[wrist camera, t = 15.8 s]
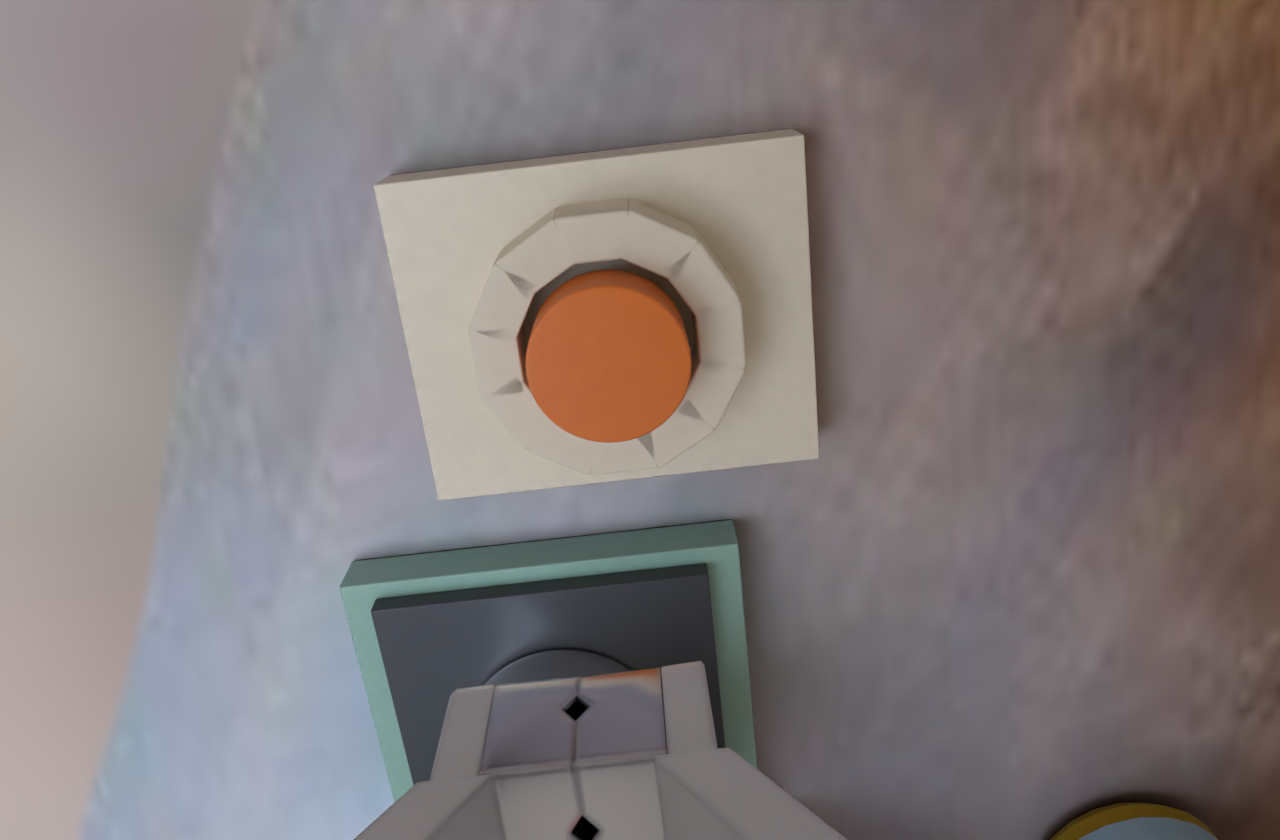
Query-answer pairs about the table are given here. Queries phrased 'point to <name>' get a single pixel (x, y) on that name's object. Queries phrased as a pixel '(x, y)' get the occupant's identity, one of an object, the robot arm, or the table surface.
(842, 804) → the table surface
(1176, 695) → the table surface
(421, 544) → the table surface
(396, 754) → the mint green tower
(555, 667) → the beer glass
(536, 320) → the button
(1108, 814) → the bottle
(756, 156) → the control pad
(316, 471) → the table surface
